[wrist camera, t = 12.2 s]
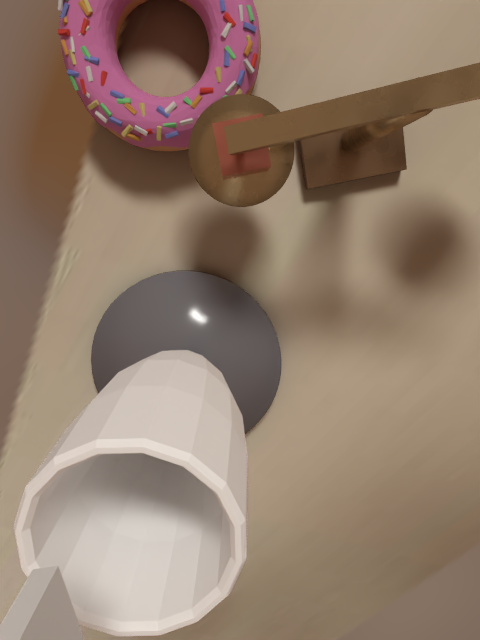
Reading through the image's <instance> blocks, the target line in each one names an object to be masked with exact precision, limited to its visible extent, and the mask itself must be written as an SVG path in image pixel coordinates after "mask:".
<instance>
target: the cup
mask: <svg viewBox="0 0 480 640" xmlns="http://www.w3.org/2000/svg"><path fill="white" fill-rule="evenodd" d="M247 513H248V465H247V448H246V440H245V432H244V424H243V416H242V414H241V412H240V410H239V408H238V406H237V404H236V401H235V399H234V397H233V395H232V393H231V391H230V389H229V387H228V385H227V383H226V381H225V379H224V377H223V374H222V372H220V371H219V370H218V369H217V368H216V367H215V366H214V365H213V364H211V363H210V362H209V361H208V360H207V359H206V358H205V357H203V356H202V355H200V354H197V353H194V352H192V351H189V350H169V351H161V352H159V353H156V354H154V355H152V356H149V357H147V358H145V359H142V360H141V361H139V362H137V363H135V364H133V365H131V366H129V367H127V368H126V369H124V370H122V371H120V372H118V373H117V374H116V375H115V376H114V378H113V379H112V380H111V381H110V382H109V383H108V384H107V385H106V386H105V387H104V388H103V389H102V390H101V391H100V392H99V394H98V395H97V396H96V397H95V398H94V399H93V400H92V401H91V402H90V403H89V404H88V405H87V407H86V408H85V409H84V410H83V411H82V412H81V413H80V414H79V415H78V416H77V417H76V418H75V420H74V421H73V422H72V423H71V424H70V425H69V426H68V427H67V429H66V430H65V431H64V433H63V434H62V436H61V437H60V439H59V440H58V441H57V443H56V444H55V446H54V447H53V449H52V450H51V451H50V453H49V454H48V456H47V457H46V459H45V460H44V461H43V463H42V464H41V466H40V467H39V469H38V470H37V471H36V473H35V474H34V476H33V477H32V479H31V480H30V481H29V483H28V484H27V486H26V487H25V489H24V493H23V496H22V499H21V503H20V506H19V509H18V513H17V516H16V519H15V522H14V531H15V536H16V542H17V548H18V553H19V559H20V564H21V568H22V570H23V571H24V573H25V574H26V576H27V577H29V575H30V573H31V572H32V570H33V569H39V568H45V567H52V566H59V569H60V572H61V575H62V577H63V580H64V583H65V586H66V589H67V591H68V594H69V597H70V600H71V603H72V605H73V608H74V611H75V614H76V616H77V619H78V622H79V625H81V626H84V627H88V628H91V629H94V630H98V631H101V632H105V633H108V634H111V635H115V636H156V635H162V634H165V633H168V632H170V631H173V630H176V629H179V628H182V627H184V626H187V625H190V624H193V623H195V622H198V621H199V620H200V619H201V618H202V617H204V616H205V615H206V614H207V613H208V612H209V611H210V610H212V609H213V608H214V607H215V606H216V605H217V604H219V603H220V602H221V601H222V600H223V599H224V598H225V597H227V596H228V595H229V594H230V593H231V591H232V589H233V586H234V584H235V582H236V580H237V578H238V576H239V574H240V571H241V569H242V567H243V565H244V563H245V561H246V559H247Z"/></svg>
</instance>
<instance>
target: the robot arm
mask: <svg viewBox="0 0 480 640" xmlns="http://www.w3.org/2000/svg"><path fill="white" fill-rule="evenodd" d="M0 640H84V636H83V633H82V630H81V628H80V625H79V622H78V619H77V616H76V614H75V611H74V608H73V605H72V603H71V600H70V597H69V594H68V591H67V589H66V586H65V583H64V580H63V577H62V575H61V572H60V569H59V566H52V567H45V568H39V569H33V570H32V572H31V573H30V575H29V577H28V578H27V580H26V582H25V584H24V585H23V587H22V589H21V590H20V592H19V594H18V596H17V597H16V599H15V601H14V602H13V604H12V606H11V607H10V609H9V611H8V613H7V614H6V616H5V618H4V619H3V621H2V623H1V625H0Z"/></svg>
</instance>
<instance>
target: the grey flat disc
mask: <svg viewBox="0 0 480 640" xmlns="http://www.w3.org/2000/svg"><path fill="white" fill-rule="evenodd" d="M169 350H189V351H192V352H194V353H197V354H200V355H202V356H203V357H205V358H206V359H207V360H208V361H209V362H210V363H211V364H213V365H214V366H215V367H216V368H217V369H218V370H219V371H220V372H222V374H223V377H224V379H225V381H226V383H227V385H228V387H229V389H230V391H231V393H232V395H233V397H234V399H235V401H236V404H237V406H238V408H239V410H240V412H241V414H242V416H243V424H244V432H245V433H246V432H248V431H249V430H250V429H251V428H252V427H253V426H255V425H256V424H257V423H258V421H259V420H260V419H261V418H262V417H263V416H264V414H265V413H266V411H267V410H268V408H269V407H270V405H271V403H272V401H273V399H274V397H275V395H276V392H277V389H278V386H279V381H280V375H281V352H280V346H279V342H278V338H277V335H276V332H275V330H274V327H273V325H272V323H271V321H270V319H269V318H268V316H267V314H266V313H265V311H264V310H263V309H262V307H261V306H260V305H259V304H258V303H257V302H256V301H255V300H254V299H253V298H252V297H251V296H250V295H249V294H248V293H247V292H245V291H244V290H243V289H241V288H240V287H239V286H237V285H235V284H233V283H232V282H230V281H228V280H226V279H223V278H221V277H218V276H216V275H212V274H208V273H205V272H197V271H172V272H165V273H161V274H157V275H153V276H151V277H149V278H146V279H144V280H141V281H140V282H138V283H136V284H135V285H133V286H131V287H130V288H128V289H127V290H126V291H125V292H123V293H122V294H121V295H119V297H118V298H117V299H116V300H115V301H114V302H113V303H112V304H111V305H110V306H109V308H108V309H107V311H106V312H105V313H104V315H103V317H102V319H101V321H100V322H99V324H98V327H97V330H96V333H95V335H94V340H93V345H92V354H91V364H92V373H93V378H94V382H95V385H96V388H97V391H98V393H99V392H100V391H101V390H102V389H103V388H104V387H105V386H106V385H107V384H108V383H109V382H110V381H111V380H112V379H113V378H114V376H115V375H116V374H117V373H118V372H120V371H122V370H124V369H126V368H127V367H129V366H131V365H133V364H135V363H137V362H139V361H141V360H142V359H145V358H147V357H149V356H152V355H154V354H156V353H159V352H161V351H169Z"/></svg>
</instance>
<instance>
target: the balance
mask: <svg viewBox="0 0 480 640" xmlns="http://www.w3.org/2000/svg"><path fill="white" fill-rule="evenodd" d="M477 99H480V63H476V64H472V65H468V66H464V67H460V68H456V69H452V70H448V71H444V72H440V73H436V74H432V75H428V76H424V77H419V78H416V79H412V80H408V81H404V82H400V83H396V84H392V85H388V86H384V87H380V88H376V89H372V90H368V91H364V92H360V93H356V94H352V95H348V96H344V97H340V98H336V99H332V100H328V101H324V102H320V103H316V104H312V105H308V106H304V107H300V108H296V109H292V110H288V111H284V112H280V111H279V110H278V109H277V108H276V107H275V106H273V105H272V104H271V103H269V102H268V101H266V100H264V99H262V98H260V97H257V96H253V95H248V94H235V95H230V96H226V97H223V98H221V99H219V100H217V101H215V102H214V103H212V104H211V105H210V106H208V107H207V108H206V109H205V110H204V111H203V112H202V114H201V115H200V116H199V118H198V119H197V121H196V123H195V125H194V127H193V129H192V132H191V136H190V140H189V160H190V165H191V169H192V171H193V174H194V176H195V178H196V180H197V182H198V183H199V185H200V186H201V187H202V188H203V190H204V191H205V192H206V193H207V194H209V195H210V196H211V197H212V198H214V199H216V200H217V201H219V202H221V203H224V204H227V205H230V206H236V207H247V206H253V205H256V204H259V203H261V202H264V201H266V200H267V199H269V198H271V197H272V196H273V195H274V194H276V193H277V192H278V191H279V190H280V188H281V187H282V186H283V185H284V183H285V182H286V180H287V178H288V176H289V174H290V172H291V169H292V165H293V160H294V142H295V141H299V145H300V152H301V159H302V166H303V172H304V179H305V186H306V189H311V188H316V187H321V186H326V185H331V184H336V183H341V182H346V181H351V180H356V179H361V178H366V177H372V176H377V175H382V174H387V173H392V172H397V171H402V170H406V169H407V167H406V156H405V145H404V135H403V127H404V126H406V125H408V124H410V123H412V122H414V121H416V120H418V119H419V118H421V117H423V116H425V115H427V114H429V113H430V112H431V111H432V110H433V109H438V108H442V107H446V106H451V105H455V104H459V103H464V102H468V101H472V100H477Z"/></svg>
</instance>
